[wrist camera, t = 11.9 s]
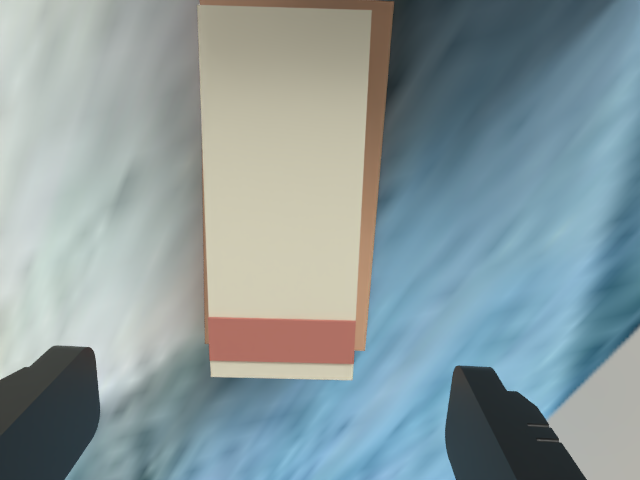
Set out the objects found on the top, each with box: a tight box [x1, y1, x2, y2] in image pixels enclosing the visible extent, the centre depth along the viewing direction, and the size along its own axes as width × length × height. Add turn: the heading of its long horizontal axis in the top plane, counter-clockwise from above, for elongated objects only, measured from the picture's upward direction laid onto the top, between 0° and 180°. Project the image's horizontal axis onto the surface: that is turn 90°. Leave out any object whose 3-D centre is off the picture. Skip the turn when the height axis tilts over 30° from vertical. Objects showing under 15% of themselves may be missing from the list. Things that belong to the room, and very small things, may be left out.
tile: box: [200, 0, 394, 351], centre depth 20 cm, size 14×7×1 cm, turn 177°
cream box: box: [197, 5, 372, 380], centre depth 17 cm, size 12×5×4 cm, turn 178°
